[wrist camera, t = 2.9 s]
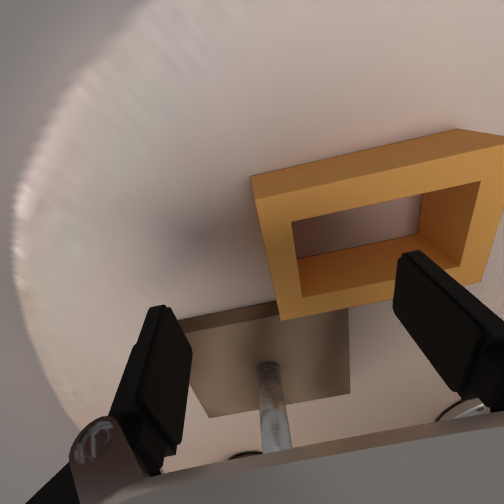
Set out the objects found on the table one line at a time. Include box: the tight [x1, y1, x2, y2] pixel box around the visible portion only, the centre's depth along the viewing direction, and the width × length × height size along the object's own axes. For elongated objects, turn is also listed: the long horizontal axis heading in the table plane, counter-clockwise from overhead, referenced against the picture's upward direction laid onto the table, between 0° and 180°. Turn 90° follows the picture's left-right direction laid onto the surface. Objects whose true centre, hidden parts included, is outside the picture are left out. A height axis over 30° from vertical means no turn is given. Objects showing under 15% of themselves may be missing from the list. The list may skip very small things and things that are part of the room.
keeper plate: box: [178, 301, 350, 454], centre depth 20 cm, size 14×12×9 cm
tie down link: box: [250, 129, 504, 321], centre depth 16 cm, size 12×8×4 cm, turn 102°
